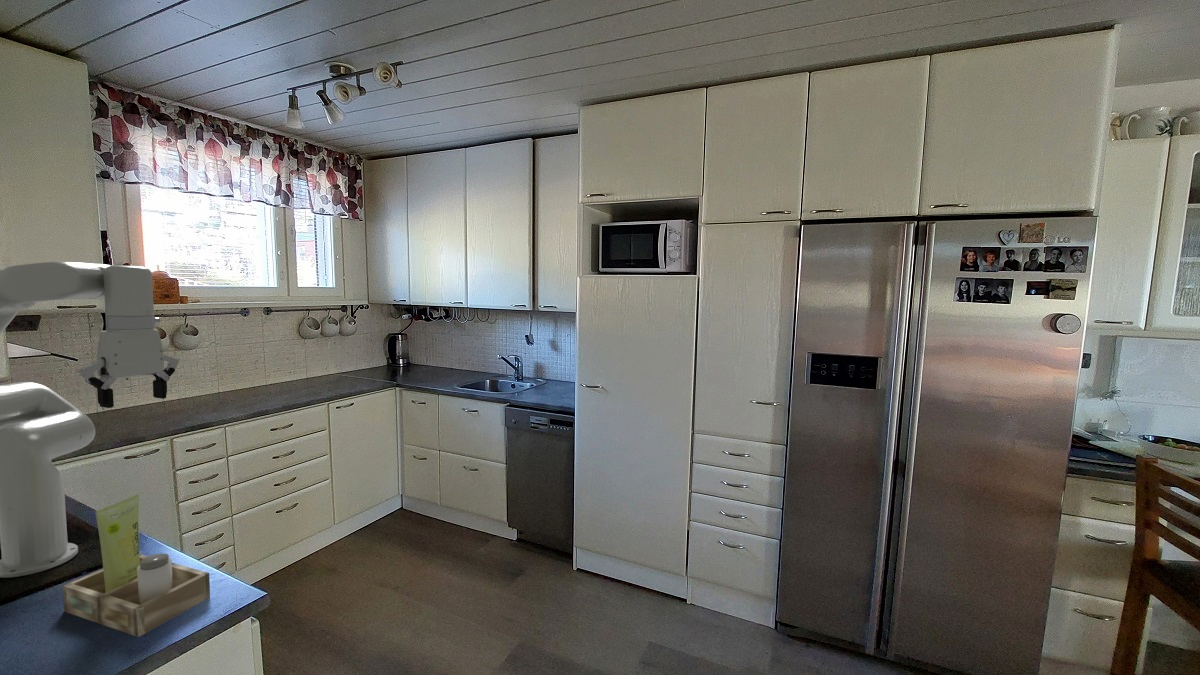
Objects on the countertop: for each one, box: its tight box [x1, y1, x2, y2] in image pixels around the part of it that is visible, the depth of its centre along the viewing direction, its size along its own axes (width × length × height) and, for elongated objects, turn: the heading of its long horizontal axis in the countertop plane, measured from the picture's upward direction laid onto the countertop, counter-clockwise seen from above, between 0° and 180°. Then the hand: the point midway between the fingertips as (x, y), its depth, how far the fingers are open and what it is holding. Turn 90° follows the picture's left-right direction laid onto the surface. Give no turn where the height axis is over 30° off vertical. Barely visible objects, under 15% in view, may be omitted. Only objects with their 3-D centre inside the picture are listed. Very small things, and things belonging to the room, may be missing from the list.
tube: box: [95, 493, 140, 593], centre depth 95 cm, size 6×5×20 cm
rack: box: [62, 553, 211, 638], centre depth 94 cm, size 20×12×6 cm, turn 73°
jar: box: [137, 553, 173, 605], centre depth 93 cm, size 5×5×10 cm
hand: (134, 402), depth 107 cm, fingers open, 9 cm apart
